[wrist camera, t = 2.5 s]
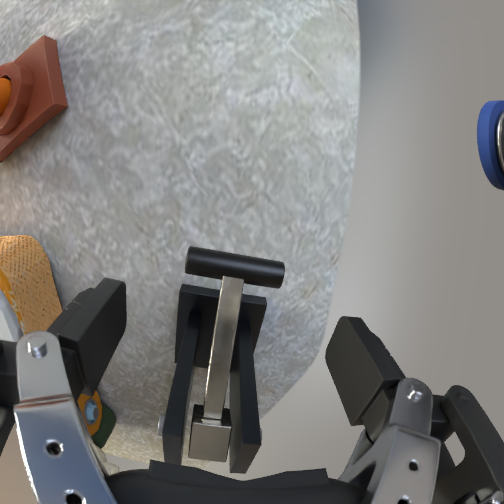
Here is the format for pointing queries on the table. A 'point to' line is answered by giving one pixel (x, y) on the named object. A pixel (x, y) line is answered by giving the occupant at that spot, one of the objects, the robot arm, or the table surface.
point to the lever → (223, 341)
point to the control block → (31, 94)
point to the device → (33, 303)
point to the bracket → (198, 355)
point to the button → (4, 94)
